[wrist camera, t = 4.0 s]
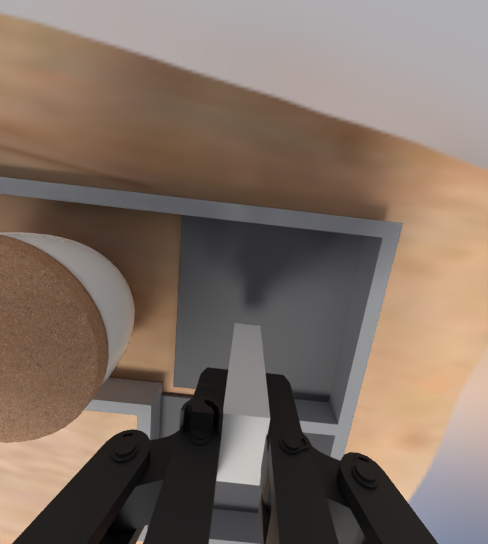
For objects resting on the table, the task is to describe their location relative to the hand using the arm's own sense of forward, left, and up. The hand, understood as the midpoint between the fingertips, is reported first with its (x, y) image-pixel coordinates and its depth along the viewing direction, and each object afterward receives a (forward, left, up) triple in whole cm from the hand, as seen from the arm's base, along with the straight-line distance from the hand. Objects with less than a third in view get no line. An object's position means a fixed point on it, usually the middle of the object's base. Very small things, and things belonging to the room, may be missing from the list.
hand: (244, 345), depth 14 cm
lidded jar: (-12, 0, -5) cm, 13 cm away
